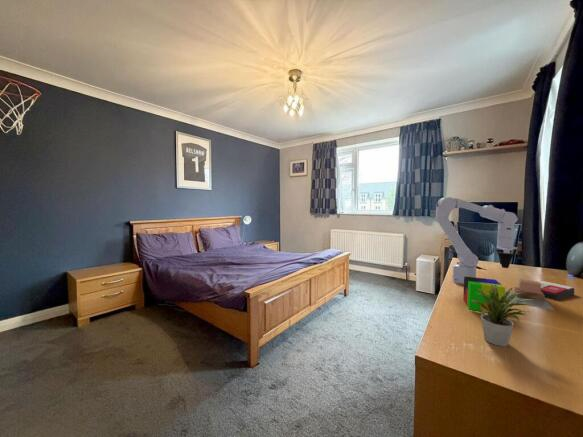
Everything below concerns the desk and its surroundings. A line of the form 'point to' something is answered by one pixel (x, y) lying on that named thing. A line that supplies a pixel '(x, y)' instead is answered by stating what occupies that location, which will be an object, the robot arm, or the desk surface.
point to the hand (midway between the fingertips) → (504, 266)
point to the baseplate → (532, 302)
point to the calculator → (555, 290)
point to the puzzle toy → (472, 289)
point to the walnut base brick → (529, 295)
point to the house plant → (499, 316)
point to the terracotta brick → (530, 286)
